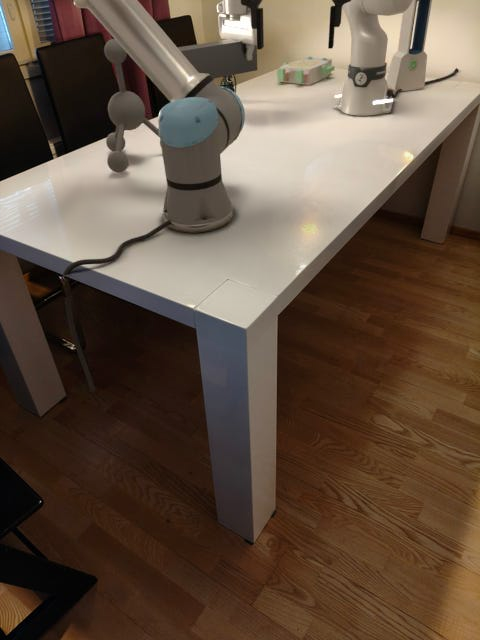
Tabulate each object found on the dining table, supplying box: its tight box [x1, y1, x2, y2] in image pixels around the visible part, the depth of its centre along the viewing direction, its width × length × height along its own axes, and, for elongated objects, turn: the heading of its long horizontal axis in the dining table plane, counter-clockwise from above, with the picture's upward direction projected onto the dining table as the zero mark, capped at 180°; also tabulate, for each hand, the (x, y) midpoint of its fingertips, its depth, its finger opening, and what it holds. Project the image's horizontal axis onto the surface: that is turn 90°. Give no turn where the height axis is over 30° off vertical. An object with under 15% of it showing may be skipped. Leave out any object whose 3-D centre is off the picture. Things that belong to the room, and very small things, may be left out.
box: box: [176, 39, 258, 80], centre depth 148 cm, size 26×6×9 cm, turn 123°
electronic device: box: [386, 0, 433, 92], centre depth 177 cm, size 12×8×30 cm, turn 105°
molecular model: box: [103, 38, 161, 174], centre depth 130 cm, size 24×22×30 cm
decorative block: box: [276, 56, 336, 86], centre depth 205 cm, size 26×6×20 cm
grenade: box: [219, 74, 237, 95], centre depth 181 cm, size 7×6×10 cm
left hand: (295, 48), depth 94 cm, fingers open, 13 cm apart
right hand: (241, 58), depth 153 cm, fingers closed on box, 6 cm apart
